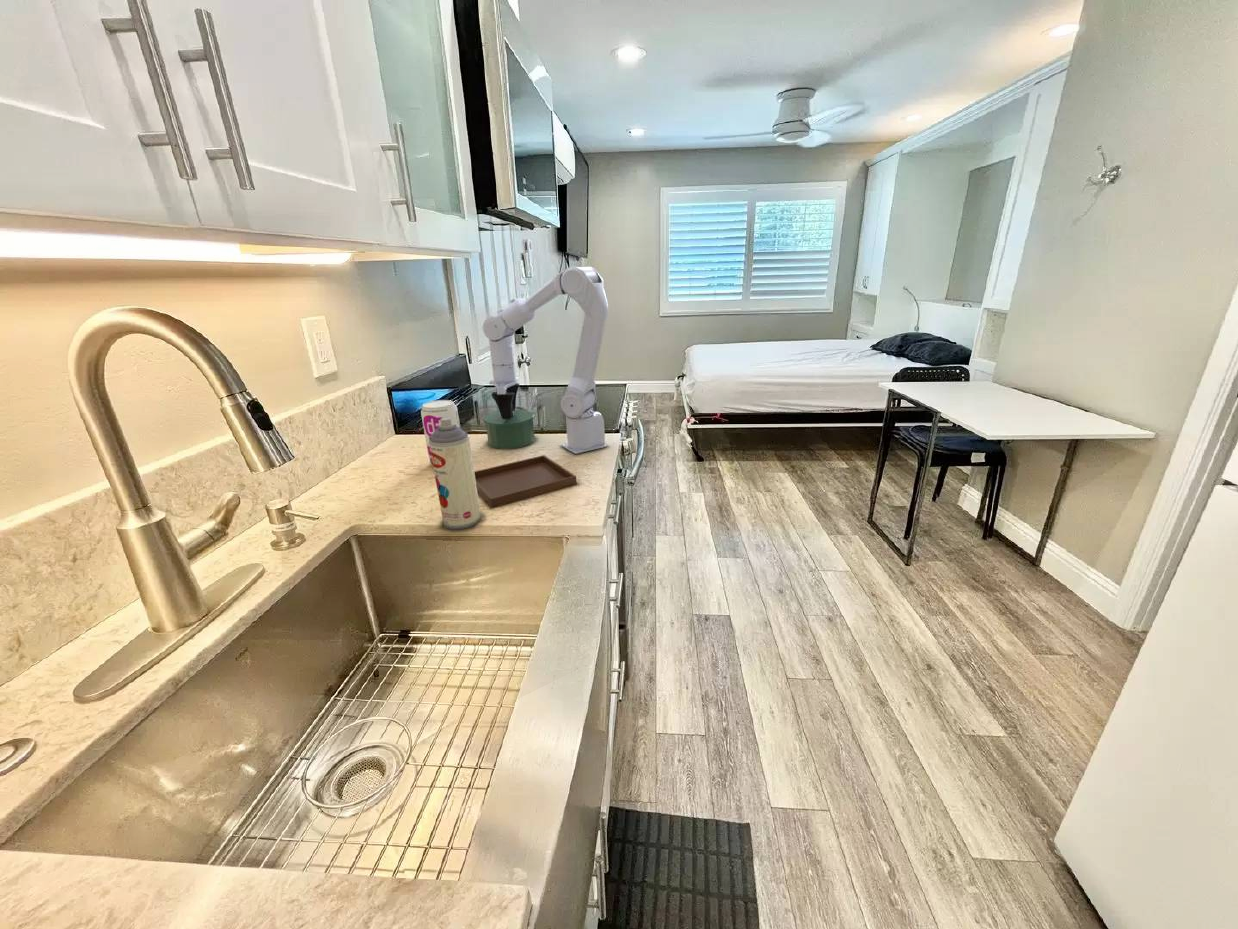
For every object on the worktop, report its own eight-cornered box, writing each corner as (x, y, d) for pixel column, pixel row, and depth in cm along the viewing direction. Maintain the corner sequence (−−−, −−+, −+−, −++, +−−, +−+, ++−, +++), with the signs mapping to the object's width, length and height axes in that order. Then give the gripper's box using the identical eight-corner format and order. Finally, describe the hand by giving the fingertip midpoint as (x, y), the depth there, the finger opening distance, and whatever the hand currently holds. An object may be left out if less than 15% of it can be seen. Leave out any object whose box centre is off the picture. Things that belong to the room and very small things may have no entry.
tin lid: (523, 411, 141) (521, 396, 139) (542, 421, 131) (541, 405, 129) (477, 419, 134) (475, 403, 133) (494, 431, 124) (492, 414, 122)
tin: (524, 431, 143) (521, 409, 140) (542, 442, 133) (540, 419, 131) (482, 439, 136) (479, 417, 134) (498, 452, 127) (495, 428, 124)
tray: (544, 462, 119) (544, 454, 119) (576, 484, 107) (576, 476, 106) (466, 481, 110) (465, 473, 109) (491, 507, 97) (490, 499, 96)
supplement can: (455, 470, 116) (445, 408, 110) (423, 468, 118) (412, 407, 112) (471, 457, 123) (462, 399, 118) (441, 456, 125) (431, 399, 119)
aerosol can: (438, 519, 93) (419, 418, 86) (472, 508, 97) (457, 411, 89) (450, 533, 88) (432, 427, 81) (486, 521, 92) (472, 419, 84)
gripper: (492, 359, 133) (498, 407, 138) (481, 369, 120) (488, 422, 125) (518, 358, 134) (523, 406, 139) (510, 368, 120) (516, 421, 125)
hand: (508, 414), depth 132 cm, fingers open, 7 cm apart
